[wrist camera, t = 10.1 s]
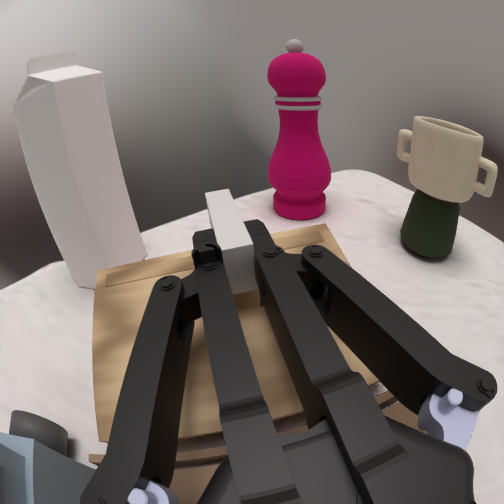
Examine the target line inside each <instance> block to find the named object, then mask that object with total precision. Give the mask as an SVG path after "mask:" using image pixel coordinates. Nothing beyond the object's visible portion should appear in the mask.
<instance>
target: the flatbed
mask: <svg viewBox="0 0 504 504" xmlns="http://www.w3.org/2000/svg"><path fill="white" fill-rule="evenodd" d="M375 399H376V401H377V403H378V405H379V407H380V409H381V410H382V409H384V408H386V407H388V406H390V405H392V404H393V403H395V402H397V401H398V400H397V399H396V398H395V397H394V396H393V395H392V394H391V393H390V391H389V390H388V391H386V392H384V393H382V394H380V395H378V396H376V397H375ZM382 413H383V414H384V415H385V416H387V417H389V418H391V419H393V420H396V421H398V422H400V423H402V424H405V425H407V426H409V427H411V428H414V429H416V430H418V431H421V432H423V433H425V434H428V433H427V432H426V431H422V430H420V429H419V428H418V425H417V423H418V415H416V414H414V413H413V412H411V411H410V410H409V409H407V408H406V407H405V406H403V405H402V404H401V403H400V402H399V403H397V404H395V405H393V406H391V407H389V408H387V409H385V410H383V411H382ZM307 430H308V427H307V424H306V425H303V426H300V427H296V428H293V429H290V430H287V431H283V432H280V433H277V435H285V434H300V433H304V432H306V431H307ZM428 435H429V434H428ZM104 456H105V455H98V454H89V462H91V463H93V464H95V465H97V466H99V464H100V463H101V461H102V459H103V458H104ZM227 456H228V452H227V448H226V445H224V446H218V447H212V448H206V449H199V450H192V451H184V452H176V462H175V468H178V467H189V466H197V465H205V464H212V463H218V462H222V461H223V460H224V459H225V458H226V457H227ZM219 465H220V464H216V465H210V466H203V467H195V468H186V469H174V475H173V478H172V481H171V485H170V487H169V489H170V490H171V491H173V492H174V493H175V494H176V496H177V498H178V500H179V504H197V502H198V501H199V499H200V497H201V495H202V494H203V492H204V490H205V488H206V487H207V485H208V483H209V481H210V479H211V478H212V476H213V474H214V472H215V470H216V469H217V467H218V466H219ZM95 471H96V470H95Z"/></svg>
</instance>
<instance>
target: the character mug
mask: <svg viewBox="0 0 504 504" xmlns="http://www.w3.org/2000/svg"><path fill="white" fill-rule="evenodd" d="M407 140H411V141H412V144H411V152H410V154H409V153H406V144H407ZM482 148H483V136H481V135H479V134H478V133H476V132H474V131H472V130H470V129H468V128H465V127H463V126H460V125H457V124H454V123H451V122H447V121H443V120H439V119H434V118H429V117H422V116H415V117H414V121H413V131H409V130H406V129H401V130H400V132H399V136H398V147H397V156H398V158H400V159H401V160H403V161H406V162H408V163H409V168H408V173H409V179H410V182H411V183H412V184H413V185H414V186H415V187H416V188H417V191H416V192H415V193H414V195H413V197H412V200H411V203H410V205H409V208H408V211H407V214H406V216H405V219H404V222H403V225H402V228H401V231H400V232H401V237H402V240H403V242H404V243H405V244H406V245H407V247H408V248H409V249H411V250H412V251H414V252H416V253H417V254H419V255H422V256H427V257H432V258H435V257H444V256H446V255H448V254H450V253H451V251H452V247H453V243H454V239H455V235H456V230H457V224H458V217H459V210H460V207H459V202H465V201H467V200H469V199H470V197H471V196H472V195H473V192H474V191H475V192H477V193H479V194H481V195H483V196H485V197H490V196H491V195H492V193H493V189H494V185H495V180H496V176H497V165H496V164H495V163H494V162H492V161H490V160H487V159H485V158H483V157H481V154H482ZM479 167H481V168H483V169H485V170H487V177H486V182H485V184H484V185H483V184H481V183H479V182H477V181H476V179H477V174H478V169H479Z"/></svg>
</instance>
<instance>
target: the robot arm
mask: <svg viewBox="0 0 504 504" xmlns="http://www.w3.org/2000/svg"><path fill="white" fill-rule="evenodd" d="M205 194H206V201H207V207H208V213H209V219H210V224H211V229H207V230H202V231H197V232H195V234H194V235H193V237H192V239H193V247H194V249H193V250H192V253H191V255H192V259H193V263H194V266H195V269H194V271H193V272H192V273H191V274H190V275H188V276H186V277H184V278H182V279H180V277H178V276H175V275H168V276H164V277H162V278H160V279H159V280H157V281H156V283H155V284H154V286H153V289H152V291H151V294H150V297H149V300H148V303H147V306H146V308H145V311H144V314H143V317H142V320H141V323H140V326H139V329H138V332H137V336H136V339H135V342H134V345H133V348H132V352H131V355H130V358H129V362H128V365H127V369H126V372H125V376H124V379H123V383H122V387H121V390H120V394H119V398H118V402H117V406H116V410H115V414H114V419H113V423H112V427H111V432H110V436H109V441H108V446H107V451H106V455H105V456H104V458H103V459H102V461H101V463H100V464H99V466H98V468H97V469H96V471H95V473H94V474H93V476H92V478H91V479H90V481H89V483H88V484H87V486H86V488H85V489H84V491H83V493H82V495H81V498H80V504H179V500H178V498H177V496H176V494H175V493H174V492H173V491H171V490H170V489H169V487H170V485H171V481H172V478H173V475H174V468H175V462H176V452H177V443H178V435H179V426H180V418H181V411H182V403H183V396H184V389H185V382H186V375H187V368H188V362H189V356H190V349H191V343H192V337H193V331H194V325H195V320H197V319H199V318H201V317H202V319H203V326H204V332H205V337H206V343H207V349H208V354H209V360H210V365H211V370H212V375H213V380H214V385H215V390H216V395H217V400H218V405H219V418H220V423H221V427H222V431H223V436H224V440H225V444H226V448H227V452H228V456H227V457H226V458H225V459H224V460H223V461H222V462H221V463H220V465H219V466H218V467H217V469H216V470H215V472H214V474H213V476H212V478H211V479H210V481H209V483H208V485H207V487H206V488H205V490H204V492H203V494H202V495H201V497H200V499H199V501H198V502H197V504H476V502H475V500H474V494H473V476H474V467H473V462H472V460H471V457H470V456H469V454H468V453H467V452H466V448H467V445H468V443H469V440H470V438H471V435H472V432H473V429H474V426H475V423H476V420H477V417H478V414H479V411H480V410H481V409H482V408H483V407H484V406H485V405H486V404H488V403H489V402H490V401H491V400H492V399H493V398H494V397H495V395H496V393H497V383H496V379H495V378H494V376H493V375H492V374H491V373H489V372H488V371H486V370H484V369H482V368H480V367H478V366H476V365H474V364H471V363H469V362H467V361H465V360H463V359H461V358H459V357H457V356H455V355H453V354H451V353H450V352H449V351H448V350H447V349H446V348H445V347H443V346H442V345H441V344H440V343H439V342H438V341H437V340H436V339H435V338H434V337H432V336H431V335H430V334H429V333H428V332H427V331H426V330H425V329H424V328H422V327H421V326H420V325H419V324H418V323H417V322H416V321H414V320H413V319H412V318H411V317H410V316H409V315H408V314H406V313H405V312H404V311H403V310H402V309H401V308H399V307H398V306H397V305H396V304H395V303H394V302H392V301H391V300H390V299H389V298H388V297H386V296H385V295H384V294H383V293H382V292H380V291H379V290H378V289H377V288H376V287H374V286H373V285H372V284H371V283H370V282H368V281H367V280H366V279H365V278H363V277H362V276H361V275H360V274H359V273H357V272H356V271H355V270H354V269H352V268H351V267H350V266H349V265H347V264H346V263H345V262H344V261H342V260H341V259H340V258H338V257H337V256H336V255H335V254H333V253H332V252H331V251H330V250H328V249H327V248H325V247H323V246H321V245H309V246H306V247H304V248H303V250H302V254H291V253H286V252H285V251H284V250H283V249H282V248H281V247H279V246H277V245H276V244H275V242H274V241H273V239H272V237H271V235H270V234H269V232H268V230H267V229H266V227H265V225H264V223H263V222H261V221H259V220H258V219H256V220H250V221H245V222H243V220H242V218H241V216H240V213H239V211H238V209H237V207H236V205H235V202H234V200H233V198H232V196H231V194H230V191H229V189H225V190H219V191H214V192H209V193H205ZM257 284H258V287H259V293H260V305H261V307H263V306H264V309H265V311H266V314H267V317H268V319H269V322H270V324H271V327H272V330H273V332H274V335H275V337H276V340H277V343H278V345H279V348H280V350H281V353H282V356H283V358H284V361H285V363H286V366H287V369H288V371H289V374H290V376H291V379H292V381H293V384H294V387H295V389H296V392H297V394H298V397H299V399H300V402H301V404H302V407H303V410H304V412H305V416H306V422H307V427H308V430H307V431H306V432H304V433H300V434H285V435H277V432H276V429H275V426H274V423H273V420H272V417H271V414H270V411H269V408H268V406H267V403H266V401H265V400H264V397H263V395H262V391H261V388H260V385H259V382H258V379H257V375H256V372H255V369H254V366H253V363H252V359H251V356H250V353H249V349H248V346H247V343H246V339H245V336H244V333H243V329H242V326H241V322H240V319H239V316H238V312H237V309H236V305H235V302H234V298H233V294H238V293H243V292H247V291H252V290H256V289H257ZM327 326H328V327H329V328H330V329H331V330H332V331H333V332H334V333H335V334H336V335H337V336H338V337H339V338H340V339H341V341H342V342H343V343H344V344H345V345H346V346H347V347H348V348H349V349H350V350H351V351H352V352H353V353H354V354H355V355H356V356H357V357H358V359H359V360H360V361H361V362H362V363H363V364H364V365H365V366H366V367H367V368H368V369H369V370H370V371H371V372H372V373H373V374H374V376H375V377H376V378H377V379H378V380H379V381H380V382H381V383H382V384H383V385H384V386H385V387H386V388H387V389H388V390H389V391H390V393H391V394H392V395H393V396H394V397H395V398H396V399H397V400H398V401H399V402H400V403H401V404H402V405H403V406H405V407H406V408H407V409H409V410H410V411H411V412H413V413H414V414H416V415H418V423H417V425H418V428H419V429H420V430H422V431H426V432H427V433H428V434H429V435H428V434H425V433H423V432H421V431H418V430H416V429H414V428H411V427H409V426H407V425H405V424H402V423H400V422H398V421H396V420H393V419H391V418H389V417H387V416H385V415H384V414H383V413H382V411H381V409H380V407H379V405H378V403H377V401H376V399H375V397H374V396H373V394H372V392H371V390H370V388H369V386H368V384H367V383H366V381H365V379H364V378H363V376H362V375H361V374H360V373H359V372H353V371H352V370H351V369H350V367H349V365H348V364H347V362H346V360H345V358H344V356H343V354H342V352H341V351H340V349H339V347H338V345H337V343H336V341H335V339H334V338H333V336H332V334H331V332H330V330H329V329H328V327H327Z"/></svg>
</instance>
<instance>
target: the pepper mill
mask: <svg viewBox="0 0 504 504" xmlns="http://www.w3.org/2000/svg"><path fill="white" fill-rule="evenodd" d="M286 49H287V50H288V52H290V53H286V54H282V55H279V56H278V57H276V58H275V59H274V60H273V61H272V62H271V63H270V65H269V68H268V75H267V77H268V82H269V84H270V85H271V86H272V87H273V89H275V91H276V92H277V95H278V96H275V97H274V100H276V101H275V103H276V104H275V106H274V107H275V108H276V109H278V110H279V117H280V132H279V137H278V141H277V144H276V147H275V149H274V152H273V154H272V157H271V159H270V163H269V169H268V178H269V182H270V184H271V185H272V186H273V187H274V188H275V189H276V190H277V191H276V192H275V193H274V195H273V199H274V209H275V211H276V212H277V213H278V214H279V215H280V216H283V217H285V218H288V219H294V220H307V219H312V218H316V217H318V216H320V215H321V214H322V213H323V212H324V211H325V202H326V196H325V194H324V193H323V191H324V190H325V189H326V188H327V186H328V185H329V183H330V181H331V168H330V165H329V161H328V158H327V156H326V153H325V151H324V149H323V147H322V144H321V141H320V137H319V133H318V123H317V119H318V109H321V108H322V106H321V105H320V104H321V102H320V100H321V99H322V98H321V97H320V96H318V92H319V91H320V89H321V88H322V87H323V86H324V84H325V80H326V75H325V70H324V67H323V65H322V64H321V62H320V61H319V60H318V59H316V58H315V57H313V56H311V55H309V54H305V53H301V52H302V51H303V44H302V42H300V41H299V40H296V39H292V40H290V41H288V42H287V44H286Z"/></svg>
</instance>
